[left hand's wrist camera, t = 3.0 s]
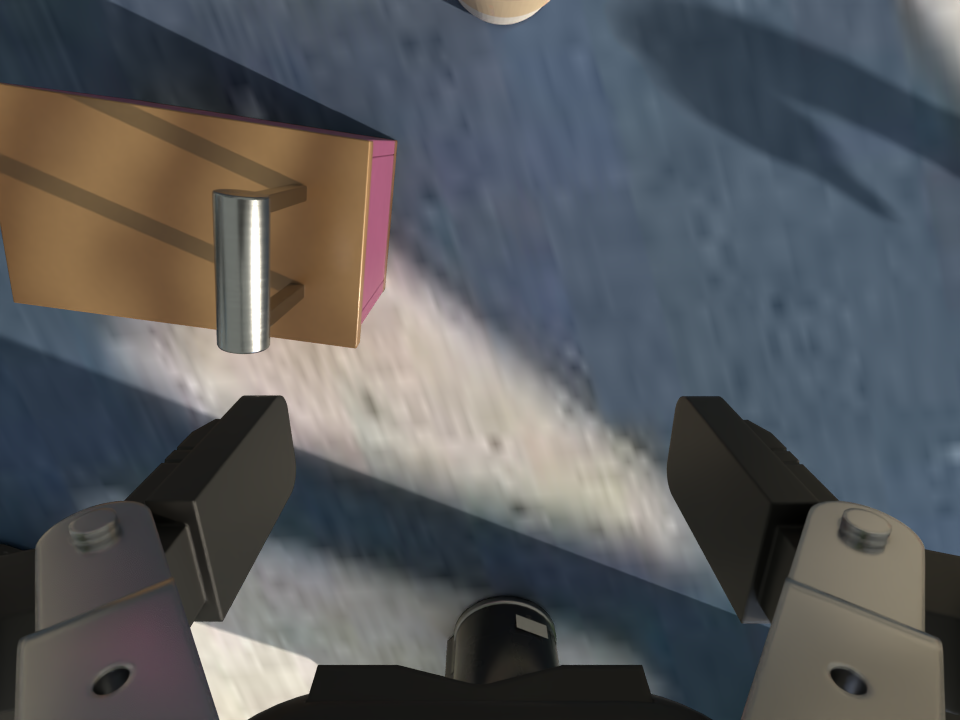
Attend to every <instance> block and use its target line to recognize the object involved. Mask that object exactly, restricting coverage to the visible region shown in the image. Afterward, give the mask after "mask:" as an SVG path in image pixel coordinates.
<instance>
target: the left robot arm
mask: <svg viewBox="0 0 960 720" xmlns="http://www.w3.org/2000/svg"><path fill="white" fill-rule="evenodd" d="M295 476H296V462H295V455H294V448H293V441H292V434H291V427H290V421H289V414H288V408H287V403H286V401H285V399H284V397H283V396H242V397H241V398H240V399H239V400H238V401H237V402H236V403H235V404H234V405H233V406H232V407H231V408H230V410H229V411H228V412H227V413H226V414H225V415H224V416H223V417H222V418H221V419H215V420H213V421H211V422H209V423H208V424H206V425H204V426H202V427H200V428H199V429H197V430H195V431H193V432H192V433H191V434H190V435H189V436H188V437H187V438H186V439H185V440H184V441H183V442H182V443H181V444H180V445H179V446H178V447H177V450H174V451H173V452H172V453H171V454H170V455H169V456H168V457H167V458H166V459H165V463H161V464H160V465H159V466H158V467H157V468H156V469H155V470H154V471H153V472H152V473H151V474H150V475H149V476H148V477H147V478H146V479H145V480H144V481H143V482H142V483H141V484H140V485H139V486H138V487H137V488H136V489H135V490H134V491H133V492H132V493H131V494H130V495H129V496H128V497H127V498H126V499H125V501H116V502H109V503H104V504H100V505H96V506H92V507H90V508H87V509H84V510H81V511H79V512H77V513H74V514H72V515H70V516H69V517H67V518H65V519H63V520H61V521H60V522H58V523H57V524H55V525H54V526H53V527H51V528H50V529H49V530H48V531H47V532H46V533H45V534H44V535H43V536H42V537H41V538H40V540H39V541H38V543H37V545H36V549H31V550H26V551H20V552H15V553H10V554H5V555H0V720H219V717H218V714H217V711H216V708H215V705H214V702H213V698H212V695H211V692H210V689H209V686H208V683H207V680H206V676H205V673H204V670H203V667H202V664H201V661H200V658H199V655H198V651H197V648H196V645H195V642H194V639H193V636H192V633H191V630H190V627H191V625H192V624H193V622H194V621H223V620H224V618H225V616H226V614H227V612H228V610H229V609H230V607H231V605H232V603H233V601H234V599H235V597H236V596H237V594H238V592H239V590H240V588H241V586H242V584H243V582H244V581H245V579H246V577H247V575H248V573H249V571H250V569H251V568H252V566H253V564H254V562H255V560H256V558H257V556H258V554H259V553H260V551H261V549H262V547H263V545H264V543H265V541H266V540H267V538H268V536H269V534H270V532H271V530H272V528H273V526H274V525H275V523H276V521H277V519H278V517H279V515H280V513H281V512H282V510H283V508H284V506H285V504H286V502H287V500H288V499H289V497H290V495H291V493H292V490H293V487H294V483H295ZM667 479H668V485H669V489H670V492H671V494H672V496H673V498H674V500H675V502H676V503H677V505H678V507H679V509H680V511H681V513H682V514H683V516H684V518H685V520H686V522H687V524H688V526H689V527H690V529H691V531H692V533H693V535H694V537H695V538H696V540H697V542H698V544H699V546H700V548H701V549H702V551H703V553H704V555H705V557H706V559H707V561H708V562H709V564H710V566H711V568H712V570H713V572H714V573H715V575H716V577H717V579H718V581H719V583H720V584H721V586H722V588H723V590H724V592H725V594H726V596H727V597H728V599H729V601H730V603H731V605H732V607H733V608H734V610H735V612H736V614H737V616H738V618H739V619H740V621H741V623H771V626H770V630H769V633H768V636H767V639H766V642H765V645H764V648H763V651H762V655H761V658H760V661H759V664H758V667H757V670H756V673H755V676H754V680H753V683H752V686H751V689H750V692H749V695H748V698H747V702H746V705H745V708H744V711H743V714H742V717H741V720H960V556H956V555H951V554H946V553H941V552H936V551H931V550H926V549H924V545H923V543H922V541H921V540H920V538H919V537H918V536H917V535H916V534H915V533H914V532H913V531H912V530H911V529H910V528H909V527H907V526H906V525H905V524H903V523H902V522H900V521H899V520H897V519H895V518H893V517H891V516H890V515H888V514H886V513H883V512H881V511H879V510H876V509H873V508H870V507H868V506H864V505H860V504H856V503H851V502H844V501H839V500H838V499H837V498H836V497H835V496H834V495H833V494H832V493H831V492H830V491H829V490H828V489H827V488H826V487H825V486H824V485H823V484H822V483H821V482H820V481H819V480H818V479H817V478H816V477H815V476H814V475H813V474H812V473H811V472H810V471H809V470H808V469H807V468H806V467H805V466H804V465H803V464H799V460H798V459H797V458H796V457H795V456H794V455H793V454H792V453H791V452H790V451H787V450H786V447H785V446H784V445H783V444H782V443H781V442H780V441H779V440H778V439H777V438H776V437H775V436H774V435H773V434H772V433H770V432H769V431H767V430H765V429H763V428H761V427H760V426H758V425H756V424H754V423H752V422H751V421H749V420H743V419H742V418H741V417H740V416H739V415H738V414H737V413H736V412H735V411H734V410H733V409H732V408H731V407H730V406H729V405H728V404H727V403H726V401H725V400H724V399H723V398H721V397H719V396H682V397H680V398H679V400H678V402H677V404H676V408H675V414H674V421H673V428H672V434H671V441H670V448H669V454H668V461H667ZM248 720H712V719H710V718H709V717H707V716H705V715H704V714H702V713H700V712H697V711H695V710H693V709H691V708H689V707H687V706H685V705H683V704H680V703H677V702H675V701H672V700H669V699H666V698H664V697H660V696H657V695H653V694H651V693H650V689H649V686H648V683H647V680H646V676H645V673H644V670H643V667H642V665H561V666H559V660H558V653H557V647H556V633H555V627H554V624H553V621H552V619H551V618H550V616H549V615H548V614H547V613H546V612H545V611H544V610H543V609H542V608H541V607H539V606H538V605H536V604H534V603H532V602H530V601H528V600H525V599H521V598H516V597H495V598H490V599H486V600H483V601H481V602H478V603H477V604H475V605H473V606H471V607H470V608H469V609H467V610H466V611H465V612H464V613H463V614H462V615H461V617H460V618H459V620H458V622H457V624H456V626H455V631H454V636H453V637H452V638H451V639H449V640H448V641H447V656H446V671H445V677H444V676H440V675H436V674H431V673H427V672H423V671H419V670H415V669H411V668H407V667H403V666H399V665H318V667H317V670H316V673H315V676H314V680H313V683H312V686H311V689H310V693H309V694H307V695H303V696H300V697H296V698H294V699H291V700H288V701H285V702H283V703H280V704H277V705H275V706H273V707H271V708H269V709H267V710H265V711H263V712H260V713H258V714H256V715H255V716H253V717H251V718H250V719H248Z"/></svg>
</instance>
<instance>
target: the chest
mask: <svg viewBox="0 0 960 720" xmlns="http://www.w3.org/2000/svg"><path fill="white" fill-rule="evenodd" d="M5 84H7V83H5ZM11 85H15V84H11ZM17 86H23V85H17ZM24 87H30V88H37V89H43V90H50V91H56V92H62V93H69V94H75V95H82V96H88V97H95V98H101V99H107V100H114V101H120V102H127V103H133V104H139V105H146V106H152V107H159V108H165V109H172V110H178V111H184V112H191V113H197V114H204V115H210V116H217V117H223V118H229V119H236V120H242V121H249V122H255V123H261V124H268V125H274V126H281V127H287V128H294V129H300V130H306V131H313V132H319V133H326V134H332V135H339V136H345V137H351V138H358V139H364V140H371V141H373V157H372V172H371V186H370V201H369V215H368V230H367V245H366V259H365V274H364V288H363V303H362V318H361V324H362V322H363V321H364V319H365V318H366V316H367V315H368V313H369V312H370V310H371V309H372V307H373V306H374V304H375V303H376V301H377V299H378V298H379V296H380V295H381V293H382V292H383V291H384V290H385V283H386V271H387V259H388V247H389V235H390V223H391V211H392V199H393V187H394V175H395V163H396V151H397V140H391V139H384V138H378V137H371V136H365V135H359V134H352V133H346V132H339V131H333V130H327V129H320V128H314V127H307V126H301V125H295V124H288V123H282V122H275V121H269V120H263V119H256V118H250V117H243V116H237V115H231V114H224V113H218V112H211V111H205V110H199V109H192V108H186V107H179V106H173V105H167V104H160V103H154V102H147V101H141V100H134V99H124V98H116V97H109V96H101V95H93V94H85V93H77V92H70V91H62V90H54V89H46V88H38V87H31V86H24Z"/></svg>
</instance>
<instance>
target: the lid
mask: <svg viewBox="0 0 960 720" xmlns="http://www.w3.org/2000/svg"><path fill="white" fill-rule="evenodd" d="M372 157H373V141H371V140H364V139H358V138H351V137H345V136H339V135H332V134H326V133H319V132H313V131H306V130H300V129H294V128H287V127H281V126H274V125H268V124H261V123H255V122H249V121H242V120H236V119H229V118H223V117H217V116H210V115H204V114H197V113H191V112H184V111H178V110H172V109H165V108H159V107H152V106H146V105H139V104H133V103H127V102H120V101H114V100H107V99H101V98H95V97H88V96H82V95H75V94H69V93H62V92H56V91H50V90H43V89H37V88H30V87H24V86H17V85H11V84H5V83H0V226H1V232H2V238H3V243H4V249H5V255H6V260H7V266H8V272H9V277H10V283H11V289H12V295H13V300H14V302H15V303H23V304H30V305H37V306H45V307H52V308H60V309H67V310H75V311H82V312H89V313H97V314H104V315H112V316H119V317H127V318H134V319H141V320H149V321H156V322H164V323H171V324H179V325H186V326H193V327H201V328H208V329H216V330H217V345H218V347H219V348H220V349H221V350H223V351H226V352H230V353H236V354H251V353H258V352H261V351H264V350H266V349H267V348H268V347H269V346H270V337H275V338H282V339H290V340H297V341H305V342H312V343H320V344H327V345H334V346H342V347H349V348H357V346H358V344H359V343H360V332H361V318H362V303H363V288H364V274H365V259H366V245H367V230H368V215H369V201H370V186H371V172H372Z"/></svg>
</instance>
